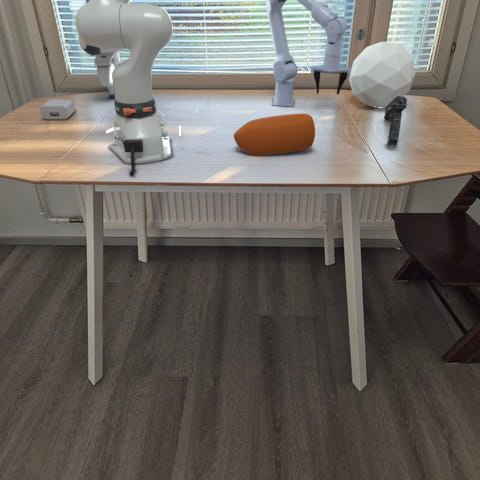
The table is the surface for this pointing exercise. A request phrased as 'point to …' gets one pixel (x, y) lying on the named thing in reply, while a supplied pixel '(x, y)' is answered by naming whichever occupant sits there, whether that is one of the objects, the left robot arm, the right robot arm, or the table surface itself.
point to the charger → (57, 109)
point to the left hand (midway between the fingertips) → (113, 92)
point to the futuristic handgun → (395, 118)
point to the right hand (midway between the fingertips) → (327, 93)
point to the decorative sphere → (381, 74)
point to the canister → (111, 95)
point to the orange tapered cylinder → (276, 134)
